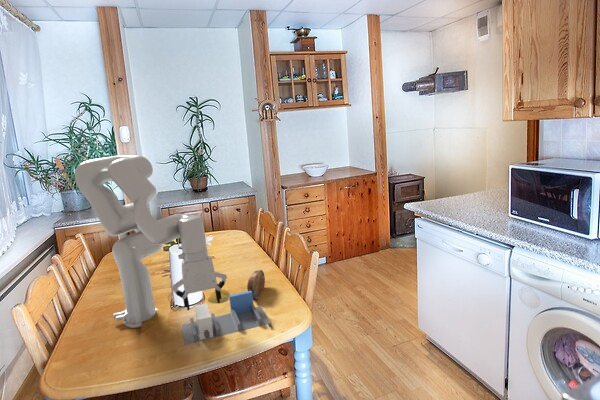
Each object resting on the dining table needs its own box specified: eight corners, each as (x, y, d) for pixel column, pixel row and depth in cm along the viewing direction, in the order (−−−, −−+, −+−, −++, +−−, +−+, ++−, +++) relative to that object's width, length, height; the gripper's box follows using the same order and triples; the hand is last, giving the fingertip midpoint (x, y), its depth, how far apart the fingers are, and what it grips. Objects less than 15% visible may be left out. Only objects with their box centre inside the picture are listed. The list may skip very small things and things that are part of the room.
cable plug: (202, 345, 121) (199, 325, 119) (197, 324, 134) (194, 305, 132) (215, 342, 122) (212, 322, 121) (209, 321, 135) (206, 303, 133)
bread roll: (205, 306, 149) (203, 297, 148) (214, 296, 158) (213, 286, 157) (225, 307, 148) (224, 297, 147) (233, 296, 156) (232, 287, 155)
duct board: (185, 348, 123) (181, 324, 121) (182, 328, 135) (178, 305, 133) (270, 327, 132) (268, 304, 130) (261, 309, 144) (259, 288, 142)
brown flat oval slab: (255, 303, 149) (253, 282, 147) (247, 302, 150) (245, 282, 148) (266, 285, 164) (264, 266, 162) (258, 285, 164) (257, 266, 162)
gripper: (167, 264, 117) (176, 316, 121) (225, 253, 123) (232, 303, 126) (166, 257, 124) (175, 306, 128) (221, 246, 130) (227, 294, 133)
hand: (203, 304), depth 127 cm, fingers open, 9 cm apart
